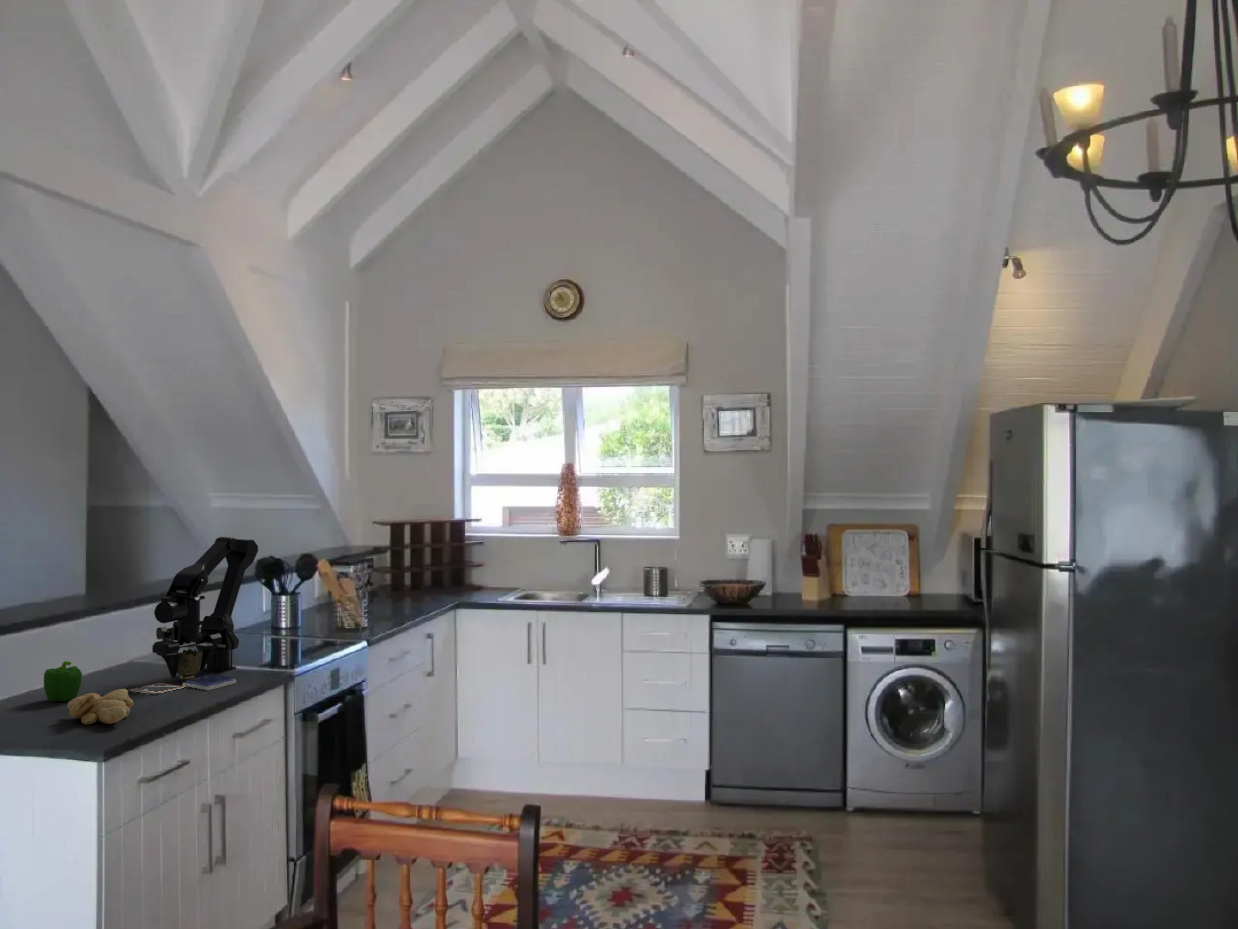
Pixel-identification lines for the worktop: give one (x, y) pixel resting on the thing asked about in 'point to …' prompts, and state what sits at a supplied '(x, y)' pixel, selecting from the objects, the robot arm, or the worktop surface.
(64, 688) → the bell pepper
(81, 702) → the ginger root
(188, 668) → the ornate bronze cup
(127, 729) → the worktop surface
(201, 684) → the ink pad
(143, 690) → the marked card
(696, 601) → the worktop surface
